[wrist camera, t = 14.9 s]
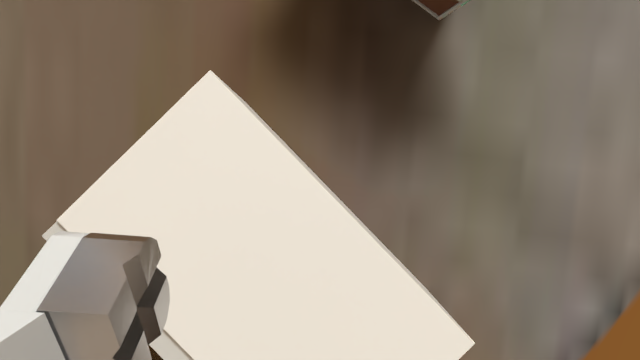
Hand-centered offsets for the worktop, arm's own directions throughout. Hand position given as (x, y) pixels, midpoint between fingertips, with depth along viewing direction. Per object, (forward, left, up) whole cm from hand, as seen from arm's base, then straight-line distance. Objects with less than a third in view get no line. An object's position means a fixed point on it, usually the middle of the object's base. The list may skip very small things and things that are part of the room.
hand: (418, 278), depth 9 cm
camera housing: (-4, -3, -27) cm, 27 cm away
